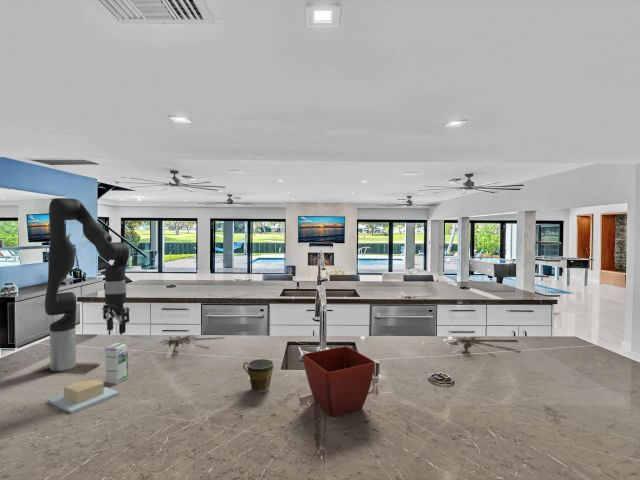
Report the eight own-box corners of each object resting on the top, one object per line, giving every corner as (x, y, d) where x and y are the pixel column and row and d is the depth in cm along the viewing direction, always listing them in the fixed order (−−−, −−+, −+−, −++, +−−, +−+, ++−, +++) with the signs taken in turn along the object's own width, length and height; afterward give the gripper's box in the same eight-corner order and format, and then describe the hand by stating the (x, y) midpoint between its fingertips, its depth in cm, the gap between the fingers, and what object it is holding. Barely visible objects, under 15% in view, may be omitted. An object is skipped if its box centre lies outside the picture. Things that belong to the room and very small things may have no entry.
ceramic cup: (278, 386, 141) (278, 361, 140) (264, 397, 131) (263, 370, 131) (251, 380, 146) (250, 356, 146) (235, 390, 137) (235, 364, 137)
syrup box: (118, 384, 142) (117, 348, 142) (105, 382, 144) (104, 346, 143) (128, 378, 148) (128, 343, 148) (116, 377, 149) (115, 342, 149)
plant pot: (326, 425, 113) (327, 372, 112) (301, 399, 130) (301, 353, 129) (376, 411, 122) (376, 362, 121) (346, 389, 139) (346, 345, 138)
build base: (48, 402, 127) (47, 388, 127) (95, 385, 141) (94, 372, 141) (71, 413, 119) (71, 398, 119) (118, 394, 133) (118, 381, 133)
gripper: (96, 291, 145) (96, 331, 145) (116, 294, 138) (117, 336, 138) (114, 289, 152) (115, 327, 152) (135, 291, 144) (135, 331, 145)
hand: (116, 331), depth 145 cm, fingers open, 8 cm apart
